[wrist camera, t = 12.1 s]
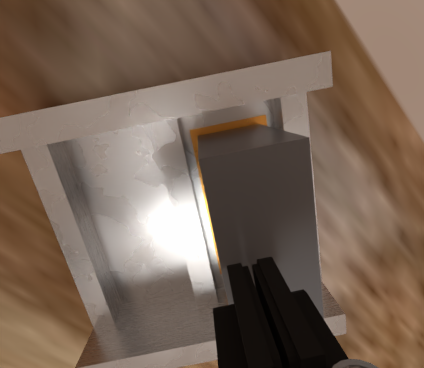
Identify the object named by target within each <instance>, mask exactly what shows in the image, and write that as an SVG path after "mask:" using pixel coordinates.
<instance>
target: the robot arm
mask: <svg viewBox="0 0 424 368" xmlns="http://www.w3.org/2000/svg"><path fill="white" fill-rule="evenodd" d="M252 270H253V276H254V282H255V285H254V282H253V279H252V276H251V274H250V271H249V268H248V266H243V267H242V264H241V263H237V264H232V265H227V271H228V276H229V281H230V286H231V291H232V296H233V302H234V304H231V305H226V306H221V307H216V308H213V318H214V328H215V338H216V348H217V358H218V368H378V367H376V366H374V365H373V364H371V363H368V362H365V361H362V360H357V359H348V357H347V355H346V354H345V352H344V351H343V349H342V347H341V346H340V344H339V343H338V341H337V340H336V338H335V336H334V335H333V333H332V332H331V330H330V328H329V327H328V325H327V324H326V322H325V321H324V319H323V317H322V316H321V314H320V313H319V311H318V309H317V308H316V306H315V305H314V303H313V301H312V300H311V298H310V297H309V295H308V294H307V292H306V291H305V290H304V289H303V290H298V291H293V292H291V291H290V289H289V287H288V285H287V284H286V282H285V280H284V278H283V276H282V274H281V273H280V271H279V269H278V267H277V265H276V263H275V261H274V260H273V258H272V257H266V258H261V259H257V264H252Z"/></svg>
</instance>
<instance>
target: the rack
mask: <svg viewBox="0 0 424 368" xmlns="http://www.w3.org/2000/svg"><path fill="white" fill-rule="evenodd" d="M328 87H333V82H332V63H331V51H327V52H322V53H317V54H312V55H307V56H303V57H298V58H293V59H288V60H283V61H278V62H273V63H268V64H263V65H258V66H253V67H248V68H243V69H238V70H233V71H228V72H224V73H219V74H214V75H209V76H204V77H199V78H194V79H189V80H184V81H179V82H174V83H169V84H164V85H159V86H154V87H150V88H145V89H140V90H135V91H130V92H125V93H120V94H115V95H110V96H105V97H100V98H95V99H90V100H85V101H80V102H75V103H71V104H66V105H61V106H56V107H51V108H46V109H41V110H36V111H31V112H26V113H21V114H16V115H11V116H6V117H1V118H0V154H2V153H7V152H12V151H17V150H21V152H22V154H23V157H24V159H25V161H26V164H27V166H28V169H29V171H30V174H31V176H32V179H33V181H34V183H35V186H36V188H37V191H38V193H39V196H40V198H41V201H42V203H43V205H44V208H45V210H46V213H47V215H48V218H49V220H50V222H51V225H52V227H53V230H54V232H55V235H56V237H57V240H58V242H59V244H60V247H61V249H62V252H63V254H64V257H65V259H66V262H67V264H68V266H69V269H70V271H71V274H72V276H73V279H74V281H75V284H76V286H77V288H78V291H79V293H80V296H81V298H82V301H83V303H84V305H85V308H86V310H87V313H88V315H89V318H90V320H91V323H92V325H93V327H94V329H93V331H92V333H91V335H90V337H89V339H88V341H87V344H86V346H85V348H84V350H83V352H82V354H81V356H80V359H79V361H78V363H77V365H76V367H75V368H178V367H183V366H188V365H193V364H198V363H203V362H208V361H213V360H218V358H217V348H216V338H215V328H214V318H213V308H216V307H221V306H226V305H228V300H227V296H226V291H225V286H224V281H223V277H222V272H221V267H220V262H219V257H218V253H217V248H216V243H215V238H214V233H213V229H212V224H211V219H210V214H209V209H208V205H207V200H206V195H205V190H204V185H203V181H202V174H201V170H200V165H199V160H198V136H199V135H204V134H209V133H214V132H219V131H224V130H229V129H234V128H239V127H244V126H249V125H255V124H261V125H265V126H269V127H272V128H276V129H280V130H284V131H287V132H291V133H295V134H299V135H302V136H306V137H309V140H310V129H309V117H308V105H307V93H306V92H308V91H313V90H318V89H323V88H328ZM310 152H311V141H310ZM311 164H312V153H311ZM312 177H313V165H312ZM313 189H314V177H313ZM314 202H315V214H316V227H317V239H318V252H319V264H320V276H321V289H322V301H323V314H324V321H325V322H326V324H327V325H328V327H329V328H330V330H331V332H332V333H333V335H334V336H337V335H342V334H346V318H345V313H344V312H343V310H342V309H341V307H340V306H339V305H338V303H337V302H336V300H335V299H334V298H333V296H332V295H331V294H330V292H329V291H328V289H327V288H326V287H325V285H324V284H323V282H322V274H321V262H320V249H319V237H318V225H317V213H316V201H315V189H314Z"/></svg>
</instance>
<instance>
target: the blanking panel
mask: <svg viewBox="0 0 424 368" xmlns="http://www.w3.org/2000/svg"><path fill="white" fill-rule="evenodd" d="M198 160H199V165H200V170H201V174H202V181H203V185H204V190H205V195H206V200H207V205H208V209H209V214H210V219H211V224H212V229H213V233H214V238H215V243H216V248H217V253H218V257H219V262H220V267H221V272H222V277H223V281H224V286H225V291H226V296H227V300H228V305H231V304H234V302H233V296H232V291H231V286H230V281H229V276H228V271H227V265H232V264H237V263H241V264H242V267H243V266H248V268H249V271H250V274H251V276H252V279H253V282H254V276H253V270H252V264H257V259H261V258H266V257H272V258H273V260H274V261H275V263H276V265H277V267H278V269H279V271H280V273H281V274H282V276H283V278H284V280H285V282H286V284H287V285H288V287H289V289H290V291H291V292H293V291H298V290H303V289H304V290H305V291H306V292H307V294H308V295H309V297H310V298H311V300H312V301H313V303H314V305H315V306H316V308H317V309H318V311H319V313H320V314H321V316H322V317H323V319H324V314H323V301H322V289H321V276H320V264H319V252H318V239H317V227H316V214H315V202H314V189H313V177H312V164H311V152H310V140H309V137H306V136H302V135H299V134H295V133H291V132H287V131H284V130H280V129H276V128H272V127H269V126H265V125H261V124H255V125H249V126H244V127H239V128H234V129H229V130H224V131H219V132H214V133H209V134H204V135H199V136H198ZM254 285H255V282H254Z"/></svg>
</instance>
